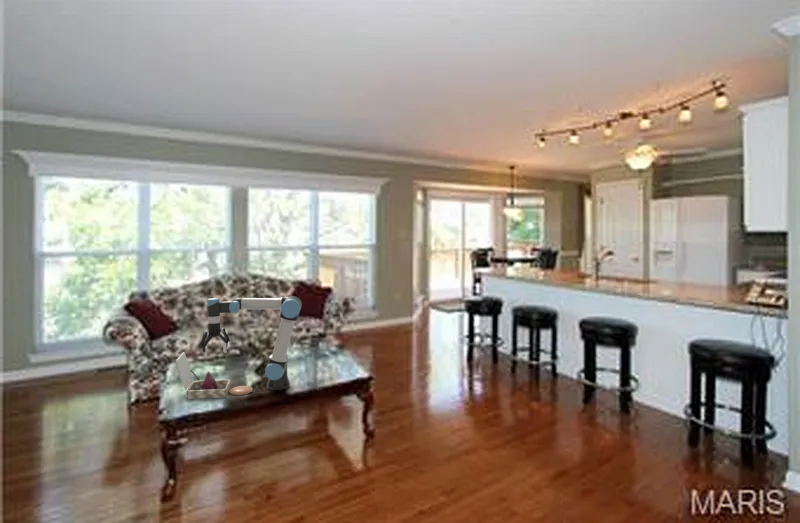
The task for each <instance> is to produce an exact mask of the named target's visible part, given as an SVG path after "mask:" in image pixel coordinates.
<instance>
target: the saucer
mask: <svg viewBox="0 0 800 523" xmlns="http://www.w3.org/2000/svg"><path fill="white" fill-rule="evenodd" d="M253 391H254V388H253V387H252V386H248V385H239V386H235V387H230V389H229V392H228V394H230V395H232V396H245V395H248V393H249V394H251V393H252V392H253ZM250 392H251V393H250ZM244 394H245V395H244Z"/></svg>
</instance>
